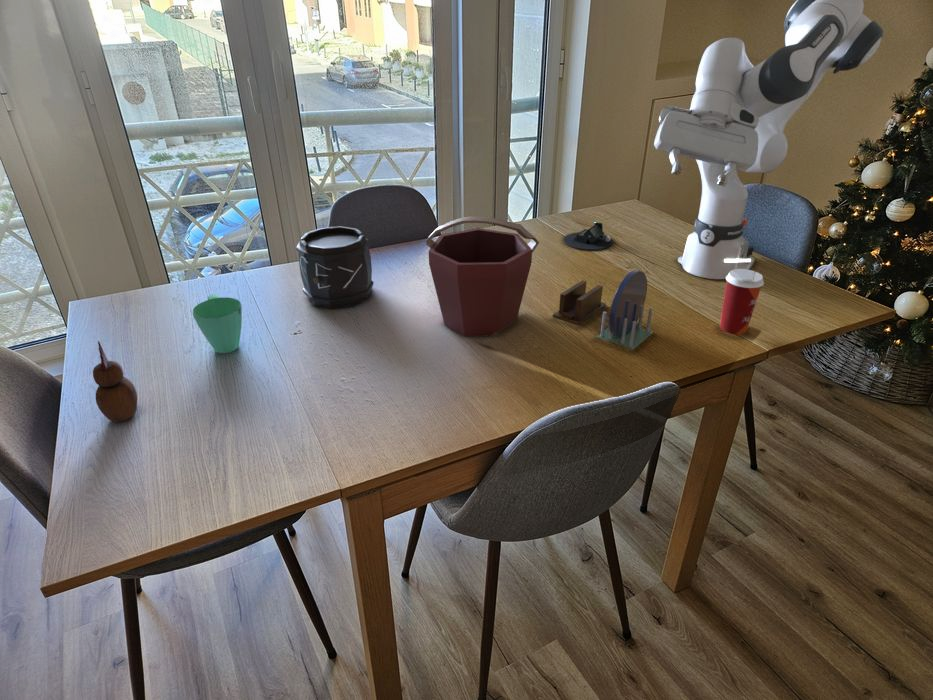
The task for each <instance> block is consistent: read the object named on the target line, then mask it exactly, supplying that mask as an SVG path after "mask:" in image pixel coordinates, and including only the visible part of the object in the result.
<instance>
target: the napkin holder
mask: <svg viewBox="0 0 933 700" xmlns="http://www.w3.org/2000/svg"><path fill="white" fill-rule="evenodd" d="M603 286H604V285H600V284H597V285H596V286H595V287H593V288H592V289H590V290H588V291H587V280H582V279H581V280H580V281H579V282H577V283H575V284H574V285H573V286H571V287H569V288H568V289H566V290H565V291H563V292H561V293H560V295H559V307H558V310H557V311H556V312H555V313H553V314H552V317H553V318H556V319H558V320H562V321H564V322H568V323H571V324H572V325H573V324H574V325H577V326H581V324H583V323H584V322H585V321H587V320H588V319H590V318H591V317H593V316H594V315H595V314H597V313H598V312H600V311H601V310H603V308H605V307H606V306H607V303H606V302H602V297H603V290H604V289H603V288H604V287H603ZM586 291H587V292H586Z"/></svg>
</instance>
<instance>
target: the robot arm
mask: <svg viewBox="0 0 933 700" xmlns="http://www.w3.org/2000/svg"><path fill="white" fill-rule="evenodd" d="M864 7H865V5H864V0H795V1H794V3H792V5H791V7H790V8H789V9H788V11H787V13H786V16H785V18H784V22H783V30H784V32H785V35H784V44H785V46H783V47H780V48H779V49H778V50H776V51H775V52H774V53H772V54H771V55H770V56H768V57H767V58H766V59H764V60H763V61H761V62H759V63H758V64H756V65H755V66H754V64H752V62H751V61H750V58H749V57H748V55H747V53H746V45H745V42H744V41H743V40H742V39H741V38H738V37H725V38H724V37H723V38H720V39H718V40H716V41H714V42H713V43H711V44H710V45H708V46H707V47H706V49H705V50H704V52H703V53H702V56H701V59H700V63H699V65H698V69H697V72H696V78H695V92H694V93H693V95H692V98H691V101H690V107H689V108H685V107H678V106H676V105H671V104H670V105H669V106H665V107H663V108H662V109H661V110H660V112H659V115H658V116H659V117H658V122H659V127H658V129H657V131H656V134H655V137H654V141H653V146H654V148H655V149H656V150H657V151H659V152H660V151H661V152H664V153H669V155H668V158H669V161H670V165H671V167H672V168H671V174H672V175H677V176H679V175H681V173H682V171H683V166H684V164H683V163H680V160H679V156H681V157H684V158H689V159H693V160H695V162H696V163H697V166H698V170H699V173H700V177H701V179H700V180H701V197H700V204H699V209H698V216H696V218H695V221H694V227H693V232H691V233H690V234H688V235H687V239H686V243H685V247H684V250H683V255H680V256H679V257H678V258H677V262H678V263H679V264H681V266H682V269H683V270H684V271H685V272H687V273H688V274H690V275H693V276H696V277H700V278H704V279H710V280H726V276H727V275H728V274H729V272H730V271H731V270H735V269H747V270H751V268H752V267H753V265H754V263H755V258H754V257H753V256H752V255H753V253H754V249H755V247H754V246H751V245H750V242H749V241H748V240H747V239H746V237H745V236H744V235H743V234H744V230H745V229H744V228H745V227H746V226H747V224H748V218H744V215H745V212H746V211H745V210H746V207H747V202H748V198H749V192H748V190H747V187H746V186H745V185H744V184H743V183H742V181H741V180H740V178H739V175H738V171H741V172H744V173H750V174H770V173H772V172H774V171H776V170H777V169H779V167H780V166H781V165H782V163H783V162H784V161H785V159H786V157H787V154H788V149H789V144H788V138H787V137H786V134H785V127H786V125H787V123H788V122H789V121H790V120H791V118H793V116H794V115H795V114H796V112H797V111H798V110H799V109H800V108H801V107H802V105H804V103H805V102H806V101H807V100H808V98H810V96H811V95H812V94H813V92H814V91H815V90H816V88H817V87H818V85H819V84H820V83H821V81H822V79H823V77H824V76H825V74H826V73H827V72H828V71H829V70H830V69H833V68H834V70H833V71H832V74H838V73H839V72H845V71H850V70H854V69H857V68H858V67H860V66H861V65H863V64H864V63H866V62H867V61H868V60H869V59H871V58H872V56H873V55H874V54H875V53H876V52H877V50H878V49H879V47H880V44H881V42H882V39H883V37H884V29H883V28H882V26H881V25H880V24H879V23H878V22H877V21H876V20H871V18H869V17H868V16H867V15H865V14H864ZM737 170H738V171H737Z"/></svg>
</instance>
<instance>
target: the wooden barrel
mask: <svg viewBox="0 0 933 700" xmlns="http://www.w3.org/2000/svg"><path fill="white" fill-rule="evenodd" d="M369 246H370V240H369V238H368V237H366V236H365V233H364V232H362V231H361V230H359V229H358V228H355V227H349V226H341V225H338V226H328V227H327V226H326V227H319V228H316V229H314V230H310V231H308V232H307V231H306V232H305V233H304V234H303V236H302V237H300V239H299V242H298V244H297V245H296V247H295V251H296V252H298V267H299V272H300V278H301V281H302V285H303V288H302V293H303V294H304V295H305V297H307V298H308V300H309V301H310V302H311V303H312V304H313V305H314V306H316V307H321V308H326V309H331V310H332V309H341V308H349V307H353V306H356V305H357V304H361V303H362V302H364V301H367V299H368V297H369V296H370V293H371V290H372V289H373V287H374V281H373V280H372V277H373V276H372V275H373V267H372V257H371V251H370V247H369Z"/></svg>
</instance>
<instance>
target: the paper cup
mask: <svg viewBox="0 0 933 700" xmlns="http://www.w3.org/2000/svg"><path fill="white" fill-rule="evenodd" d="M725 280H726V283H725V290H724V296H723V302H722V308H721V313H720V314H721V315H720V322H719V328H720V329H721V330H722V331H724V332H726V333H728V334H731V335H742V334H745V333H747V331H748V329H749V328H748V327H749V325H750V322H751V320H752V315H753V312H754V310H755V307H756V304H757V301H758V298H759V294H760V292H761V288H762V287H763V286H764V284H765V282H764V277H763V275H762V274H761V273H760V272H758V271H755V270H751V269H749V270H747V269H735V270H731V271H730V272H729V274H728V275H727V276H726V279H725Z"/></svg>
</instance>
